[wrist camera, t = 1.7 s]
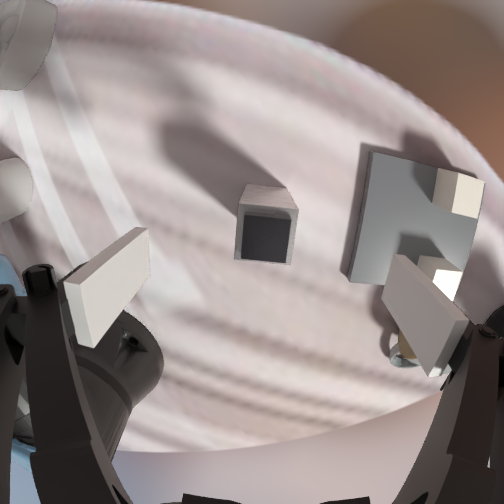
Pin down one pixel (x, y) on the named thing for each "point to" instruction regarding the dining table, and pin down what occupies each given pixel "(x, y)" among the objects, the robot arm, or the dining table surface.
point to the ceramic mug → (406, 355)
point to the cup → (14, 188)
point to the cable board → (415, 221)
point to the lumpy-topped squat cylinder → (24, 40)
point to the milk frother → (497, 322)
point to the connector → (265, 225)
